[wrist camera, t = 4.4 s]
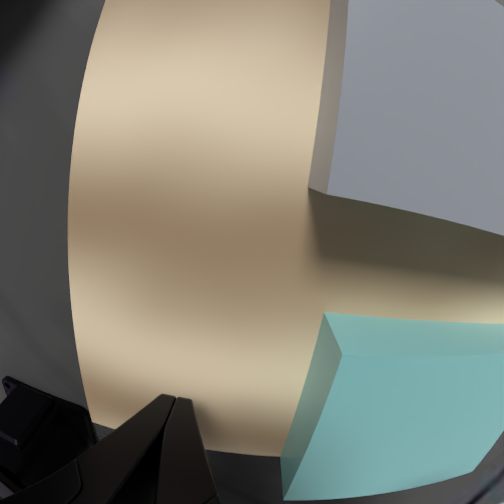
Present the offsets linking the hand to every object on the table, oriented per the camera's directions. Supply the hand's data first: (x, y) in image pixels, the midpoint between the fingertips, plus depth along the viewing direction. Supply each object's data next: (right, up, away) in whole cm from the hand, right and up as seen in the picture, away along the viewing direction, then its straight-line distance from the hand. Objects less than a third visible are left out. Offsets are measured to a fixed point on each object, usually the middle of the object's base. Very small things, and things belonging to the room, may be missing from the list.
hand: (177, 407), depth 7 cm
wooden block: (+6, +5, +4) cm, 9 cm away
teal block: (+7, -1, +1) cm, 7 cm away
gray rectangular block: (+8, +8, -1) cm, 11 cm away
